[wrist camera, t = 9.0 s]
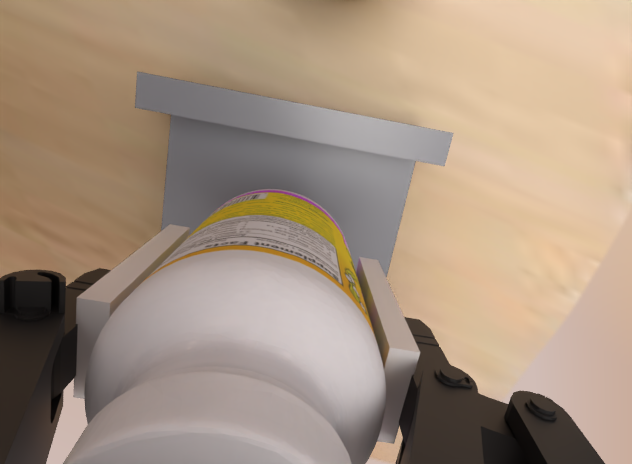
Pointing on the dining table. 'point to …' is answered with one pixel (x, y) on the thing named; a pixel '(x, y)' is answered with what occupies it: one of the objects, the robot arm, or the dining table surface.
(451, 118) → the dining table surface
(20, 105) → the dining table surface
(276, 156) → the u cradle
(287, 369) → the supplement bottle
